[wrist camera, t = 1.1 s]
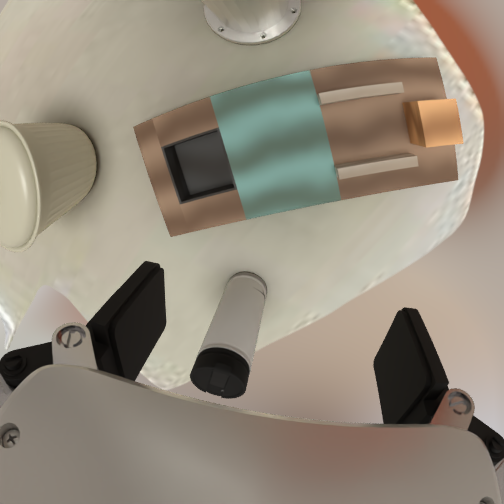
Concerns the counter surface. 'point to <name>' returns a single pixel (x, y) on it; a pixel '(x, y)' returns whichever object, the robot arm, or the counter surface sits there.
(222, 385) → the travel mug
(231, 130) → the board
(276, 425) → the robot arm
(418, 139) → the block
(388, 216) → the counter surface
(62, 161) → the canister
